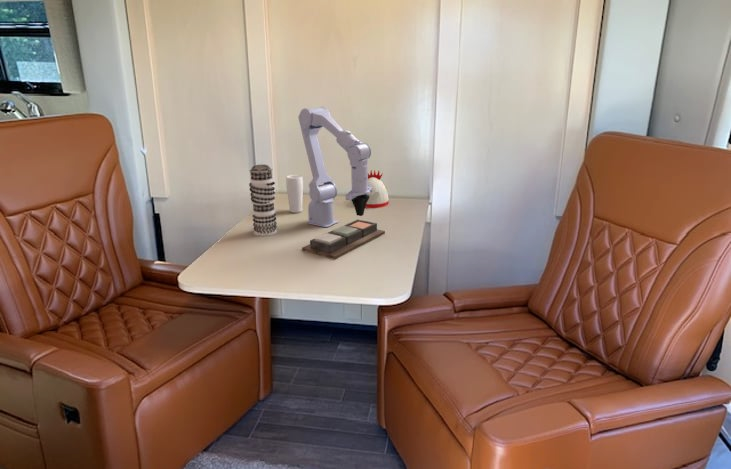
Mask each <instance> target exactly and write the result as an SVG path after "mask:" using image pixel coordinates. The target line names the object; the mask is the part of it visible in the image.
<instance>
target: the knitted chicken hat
mask: <svg viewBox="0 0 731 469" xmlns="http://www.w3.org/2000/svg"><path fill="white" fill-rule="evenodd" d="M382 177H383V172H382V173H381V174H380V170H378V171H377V173H376V170H375V169H374V171H373V172H372V169H371V170H370V173H368V186H372V187H373V192H370V194H366V195H369V199H368V201H367V203H366V206H365V208H368V209H369V208H370V209H376V208H383V207H386V206H388V205H389V201H390V200H389V194H388V191H387V187H386V186H385V184H384V183H383V181H382V180H381V178H382Z"/></svg>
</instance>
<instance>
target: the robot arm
mask: <svg viewBox="0 0 731 469" xmlns="http://www.w3.org/2000/svg"><path fill="white" fill-rule="evenodd" d="M297 117H298V121H299V122H298V123H299V126H300V129H301V134H302V139H303V143H304V147H305V150H306V154H307V159H308V163H309V166H310V170H311V171H310V172H311V175H312V179H311V181H310V182H309V183H308V188H309V198H310V199H311V200H310V202H308V207H307V210H308V212H307V213H308V221H307V224H309V225H314V226H319V227H322V228H328V227H331V226H333V225H335V224H337V223H339V220H336V219H334V218H335V216H334V201H335V198H336V197H337V196H338V187H337V185H336V184H335V182H334V179H333V177H331V176H329V175H328V173H327V170H326V166H325V162H324V158H323V152H322V149H321V145H320V142H319V137H318V133H319V132H320V130H322V129H323V128H325V130H327V131H328V132H329V133H330V134H331V135H333V136H334V137H335V138H336V139H335V140H336V143H337V144H338V145H339V146H340V147H341V148H342V149H343V150H344V152H346V154H347V157H348V160H349V165H350V167H351V173H350V174H351V190H350V191H349V192H348V193H346V194H345V201H351V202H352V205H353V207H354V210H355V213H356V216H358V217H359V216H360V217H362V216H364V213H365V209H366V207H365V206H366V203H367V201H368V199H369V195H366V194H370V192H373V187H372V186H368V174H369V170H368V166H369V164H368V161H369V160H368V159H370V158H371V156H372V149H371V147H370V145H369V144H368V143H367V142H361V141H360V140H359V139H358V138H357V137H355V135H354V134H352V131H350V130H348V129H346V130H345V129H344V130H343V128H342V127H341V126H340V125H339V124H338V122H336V121H335V119H334V118H333V117H332V115H331V112H330V111H329V110H328V109H327V108H326V107H324V106H318V107H311V108H310V107H308V108H302V109H301V110H300V112H299V115H298V116H297Z"/></svg>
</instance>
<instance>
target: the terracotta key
mask: <svg viewBox="0 0 731 469" xmlns="http://www.w3.org/2000/svg"><path fill="white" fill-rule="evenodd" d="M370 225H372V224H368V223H363V222H356V223H354V224H352V225H350V226H353V227H358V228H362V229H363V228H366V227H368V226H370Z"/></svg>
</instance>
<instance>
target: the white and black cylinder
mask: <svg viewBox="0 0 731 469" xmlns="http://www.w3.org/2000/svg"><path fill="white" fill-rule="evenodd" d="M272 171H273V168H271V167H270V166H269V165H268V164H256V165H253V166H252V167H251V169H249V172H250V183H249V184H248V186H249V191H250V200H251V204H252V208H253V209H252V218H253V219H252V221H253V224H252V225H253V230H254V231H253V234H254V235H256V236H259V235H260V236H259V237H267V236H272V235H275V234H277V232H278V231H277V228H278V227H277V221H276V220H277V217H276V215H277V213H276V208H275V204H274V203H275V202H276V197H275V196H274V195H275V193H276V191H274V190H276V189H275V188H276V187H274V185H275V183H276V182H274V179H273V173H272Z"/></svg>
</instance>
